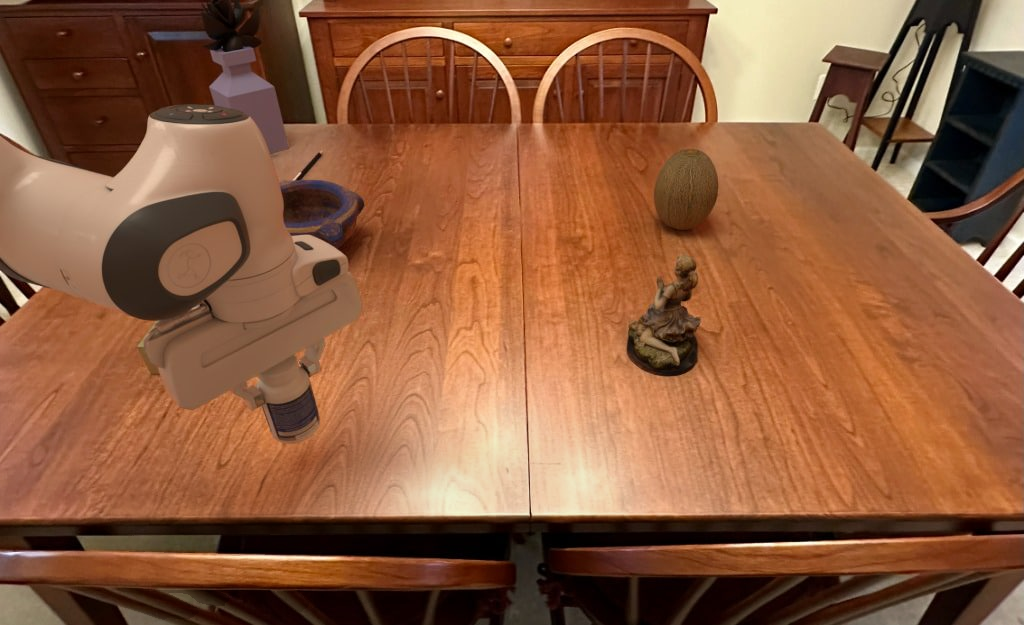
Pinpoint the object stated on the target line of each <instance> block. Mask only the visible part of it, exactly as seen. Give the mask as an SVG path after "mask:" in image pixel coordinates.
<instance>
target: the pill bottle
mask: <svg viewBox="0 0 1024 625" xmlns="http://www.w3.org/2000/svg"><path fill="white" fill-rule="evenodd" d="M257 377H258V380H257V382H256V386H255V387H256V388H257V390H260V391H261V392H262V394H263V397H264V398H263V399H264V400H265V404H264V405H262V406H261V408H262V412H263V414H264V416H265V419H266V422H267V425H268V428H269V431H270V434H271V435H272V437H273V438H274V439H275V440H276V441H277V442H279V443H282V444H286V445H287V444H288V445H294V444H299V443H301V442H304V441H307V440H308V439H310V438H311V437H313V436H314V435H315V433H317V431H318V430H319V428H320V425H321V417H320V413H319V409H318V404H317V400H316V398H315V393H314V390H313V386H312V383H311V379H310V378H311V377H309V376H308V373H307V372H306V371H305V370H304V369H303V368H302V367H301V365H300V364H299V360H298V358H297V357H296V354H295V355H293V356H291V357H290V358H288V359H286V360H284V361H282V362H280V363H279V364H277V365H275V366H273V367H271V368H270V369H268V370H266V371H264V372H262V373H261V374H259V375H257Z"/></svg>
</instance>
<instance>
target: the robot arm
mask: <svg viewBox="0 0 1024 625" xmlns="http://www.w3.org/2000/svg"><path fill="white" fill-rule="evenodd" d="M146 125H147V126H146V132H145V135H144V136H143V137H144V138H143V140H142V141H141V143H140V145H139V147H138V148H137V149H136V150H137V151H136V152H135V154H134V155H133V156H132V157H131V159H130V160H129V161H128V162H127V164H125V166H124V167H123V168H122V169H121V170H120V171H119V172H118V173H117V174H116V175H115V176H109V175H106V174H102V173H99V172H95V171H90V170H88V169H85V168H83V167H80V166H77V165H75V164H71V163H68V162H65V161H62V160H59V159H54V158H51V157H46V156H41V155H37V154H31V153H29V152H26V151H24V150H22V149H20V148H18V147H16V146H15V145H13V144H12V143H10V142H9V140H6V139H5V138H4V137H2V136H1V135H0V272H1V273H3V274H4V275H6V276H8V277H10V278H12V279H15V280H17V281H19V282H22V283H26V284H31V285H35V286H38V287H42V288H46V289H51V290H54V291H57V292H59V293H62V294H66V295H68V296H71V297H73V298H76V299H79V300H82V301H84V302H87V303H90V304H92V305H97V306H100V307H103V308H105V309H107V310H109V311H112V312H113V311H114V312H116V313H119V314H122V315H125V316H128V317H132V318H135V319H138V320H142V321H150V322H154V323H155V322H156V321H158V322H157V323H155V325H154V324H153V325H154V326H155V328H154V329H152V330H151V331H150V332H149V333H148V332H147V333H148V334H147V333H146V334H147V336H146V335H145V336H146V337H145V336H144V337H145V339H144V341H143V346H144V350H145V352H146V354H147V357H148V359H149V361H150V362H151V363H152V364H153V365H154V366H156V367H158V370H159V374H158V375H159V377H160V380H161V383H162V386H163V388H164V391H165V392H166V394H167V395H168V396H169V398H170V399H171V400H172V402H174V403H175V405H176V406H178V407H179V408H181V409H183V410H188V411H194V410H195V411H196V410H197V409H199V408H201V407H202V406H205V405H206V404H208V403H210V402H211V401H214V400H215V399H217V398H219V397H221V396H223V395H225V394H226V393H228V392H230V391H231V393H233V395H235V396H237V397H238V398H241V399H242V401H243V403H244V404H245V406H246V407H247V408H248V410H250V411H251V412H254V411H255V410H257V409H259V408H260V407H262V405H264V404H265V400H264V399H263V398H264V397H263V394H262V392H261V391H260V390H257V388H256V386H255V385H254V384H253V385H250V386H248V381H249V380H251V379H253V378H255V377H258V375H259V374H261V373H262V372H264V371H266V370H268V369H270V368H271V367H273V366H275V365H277V364H279V363H280V362H282V361H284V360H286V359H288V358H290V357H291V356H293V355H295V356H296V355H297V354H299V353H300V352H302V351H304V350H305V351H304V356H302V357H300V358H299V359H298V358H297V361H298V364H299V366H300V367H302V368H303V369H304V370H305V371H306V372H307V373H308V376H309V378H311V377H313V376H315V375H317V374H318V373H320V372H321V371H322V367H321V363H320V360H321V358H322V354H323V352H324V349H325V347H326V340H325V339H326V338H327V337H329V336H332V335H333V334H335V333H337V332H339V331H341V330H342V329H344V328H346V327H347V326H349V325H351V324H353V323H355V322H357V321H358V320H359V318H360V316H361V314H362V312H363V301H362V297H361V293H360V289H359V285H358V283H357V280H356V278H355V276H354V275H353V273H351V272H350V271H348V270H349V259H348V256H346V255H345V254H344V253H343V252H342V251H341V250H339V248H338V249H336V248H335V247H333V246H332V245H330V244H328V243H327V242H325V241H323V240H321V239H319V238H316V237H314V236H312V235H298V236H291V235H290V233H289V231H288V230H287V228H286V226H285V224H284V220H283V210H284V201H283V197H282V193H281V188H280V184H279V183H280V182H279V178H278V177H279V176H278V174H277V170H276V166H275V164H274V160H273V158H272V155H271V154H272V153H271V154H270V152H269V149H268V146H267V144H266V142H265V140H264V137H263V135H262V133H261V131H260V130H259V128H258V126H257V125H256V123H255V122H254V121H253V119H252V118H251V117H250V116H248V115H246V114H244V113H243V112H241V111H238V110H235V109H231V108H226V107H221V106H215V104H197V103H190V104H189V103H188V104H187V103H185V104H175V105H170V106H165V107H161V108H159V109H157V110H154V111H152V112H151V113H150V114H149V115H148V117H147V124H146ZM203 300H204V301H203ZM156 332H158V333H156ZM155 333H156V334H155Z"/></svg>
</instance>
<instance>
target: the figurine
mask: <svg viewBox="0 0 1024 625" xmlns="http://www.w3.org/2000/svg"><path fill="white" fill-rule="evenodd" d="M697 267H698V266H697V262H696V260H695V258H693V257H692V256H690V255H688V254H686V253H680V254H679V255H678V256H677V259H676V262H675V266H674V267H673V272H674V273H673V274H674V275H675V277H676V280H675V281H673V282H670V283H668V284H665V282H664V280H663V278H662V276H661V275H660V276H659V275H658V276H657V278H656V286H657V290H656V293H655V295H654V301H653V303H651V304H650V305H648V308H647V311H646V312H645V313H644V314H642V315H640V316H638V320H634V319H633V320H630V321H629V323H628V331H627V335H628V337H627V342H626V355H627V357H628V358H629V360H630V361H631V362H632V363H634V365H636V366H637V367H638V368H639V369H641V370H643V371H645V372H646V373H649V374H652V375H654V376H655V375H656V376H662V377H675V376H680V375H683V374H686V373H688V372H689V371H691V370H692V369H693V368H694V367H695V366H696V364H697V362H698V352H699V351H698V350H699V348H698V347H699V345H698V339H697V337H696V334H695V333H696V332H697V330H698V328H699V327H700V325H701V322H702V318H701V317H700V316H697V317H694V315H693V314H690V313H689V311H688V307H686V306H684V305H682V302H683V303H685V302H688V301H690V300H691V298H692V295H693V289H695V288H696V287H697V285H698V284H699V275H698V272H697V271H696V270H697Z"/></svg>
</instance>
